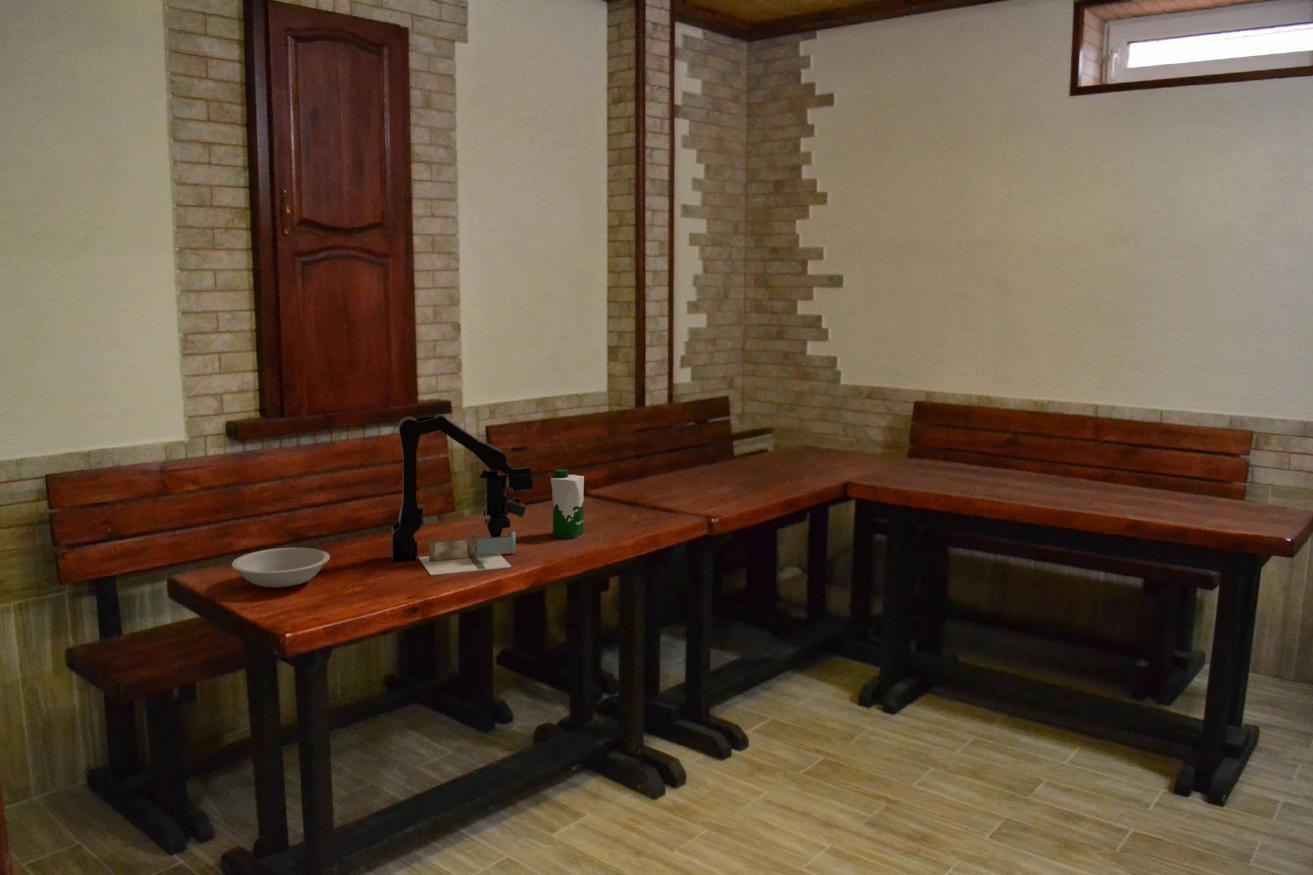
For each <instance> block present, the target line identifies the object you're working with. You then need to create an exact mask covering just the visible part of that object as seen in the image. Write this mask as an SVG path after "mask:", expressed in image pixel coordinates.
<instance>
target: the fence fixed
mask: <svg viewBox="0 0 1313 875" xmlns="http://www.w3.org/2000/svg"><path fill="white" fill-rule="evenodd" d="M475 552H476V538H475V535H473V534H471V535H468V536H467V539H457V540H447V541H436V539H435V538H429V539H428V556H429V561H437V560H447V559H457V558H468V554H469V557H475Z"/></svg>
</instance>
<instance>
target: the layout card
mask: <svg viewBox="0 0 1313 875" xmlns="http://www.w3.org/2000/svg"><path fill="white" fill-rule="evenodd" d="M418 559H419V561H420V563H421V564H422V565H423V567H424V568H425V570H426V571H427V572H428V574H429V576H431V577H432V576H443V575H452V574H463V573H471V572H481V571H490V570H501V569H511V568H512V565H511V564H510V563H509V562H508V561H507V560H506V559H505V558H504V557H503V556H502V555H501V553H498V554H488V555H476V551H475V557H469V554H468V558H457V559H447V560H437V561H429V555H427V556H426V555H425V556H419V557H418Z"/></svg>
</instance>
